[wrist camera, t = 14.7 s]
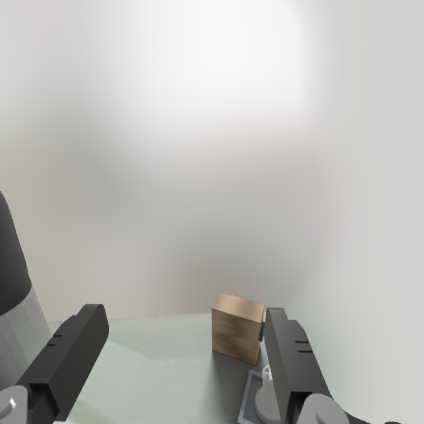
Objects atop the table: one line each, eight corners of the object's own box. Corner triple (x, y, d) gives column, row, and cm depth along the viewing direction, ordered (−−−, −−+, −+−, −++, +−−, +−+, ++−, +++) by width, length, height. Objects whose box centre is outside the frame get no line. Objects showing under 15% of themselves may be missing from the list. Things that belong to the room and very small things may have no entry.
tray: (237, 427, 31) (237, 421, 30) (249, 374, 37) (249, 368, 37) (294, 454, 28) (295, 448, 28) (296, 393, 35) (298, 386, 34)
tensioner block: (212, 349, 41) (211, 308, 37) (219, 332, 45) (219, 292, 41) (261, 367, 38) (266, 324, 34) (264, 347, 42) (269, 305, 38)
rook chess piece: (280, 390, 34) (286, 355, 31) (290, 427, 30) (298, 390, 27) (251, 391, 34) (254, 355, 31) (257, 428, 30) (261, 391, 27)
